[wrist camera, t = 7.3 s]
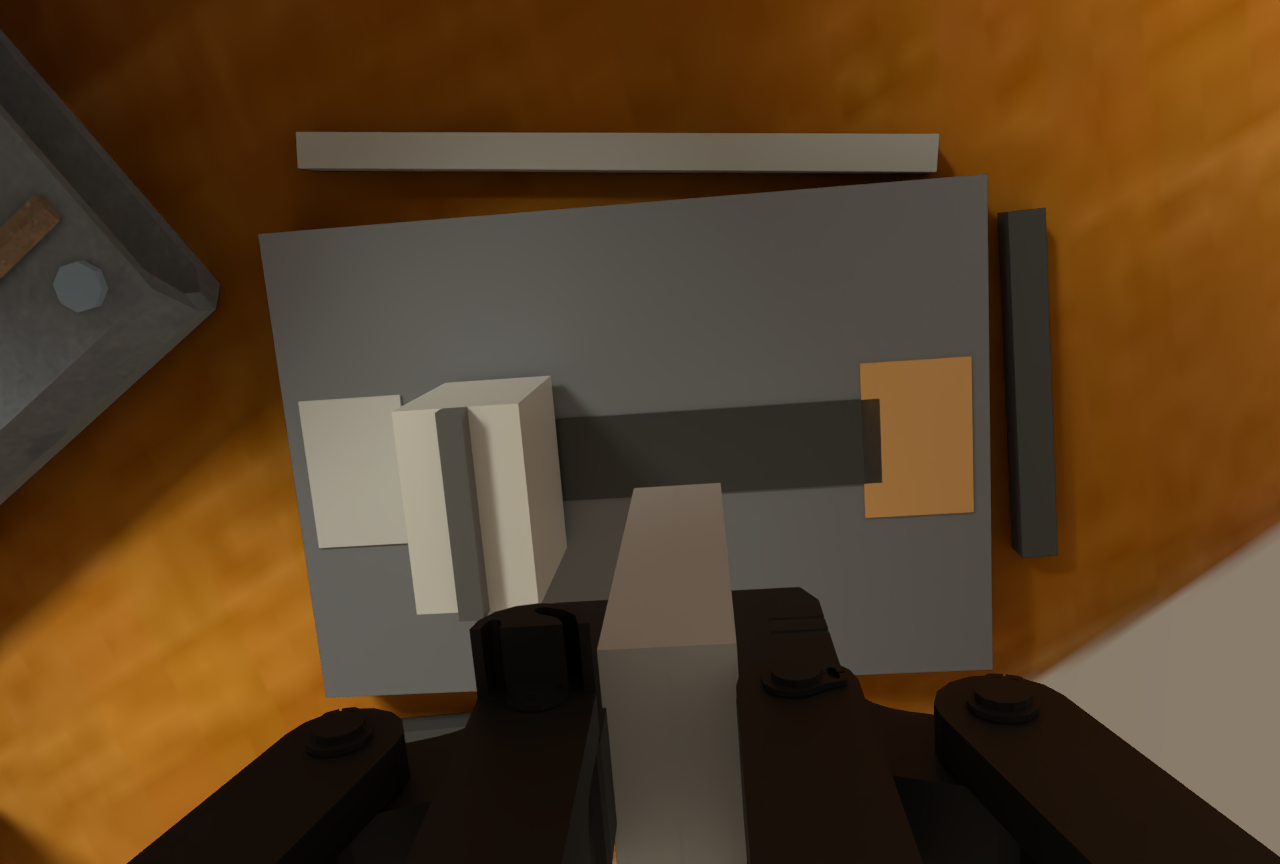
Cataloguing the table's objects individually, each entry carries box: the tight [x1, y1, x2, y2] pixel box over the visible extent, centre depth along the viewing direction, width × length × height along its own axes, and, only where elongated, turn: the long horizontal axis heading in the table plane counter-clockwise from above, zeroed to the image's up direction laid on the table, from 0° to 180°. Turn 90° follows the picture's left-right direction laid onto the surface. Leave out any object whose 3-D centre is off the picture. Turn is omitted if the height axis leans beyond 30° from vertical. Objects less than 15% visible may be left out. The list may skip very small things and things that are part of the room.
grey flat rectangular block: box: [258, 174, 993, 698], centre depth 29 cm, size 20×14×2 cm
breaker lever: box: [391, 376, 567, 622], centre depth 25 cm, size 3×5×5 cm, turn 4°
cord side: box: [998, 208, 1058, 558], centre depth 28 cm, size 1×10×1 cm, turn 6°
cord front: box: [296, 132, 939, 174], centre depth 28 cm, size 18×1×1 cm, turn 89°
